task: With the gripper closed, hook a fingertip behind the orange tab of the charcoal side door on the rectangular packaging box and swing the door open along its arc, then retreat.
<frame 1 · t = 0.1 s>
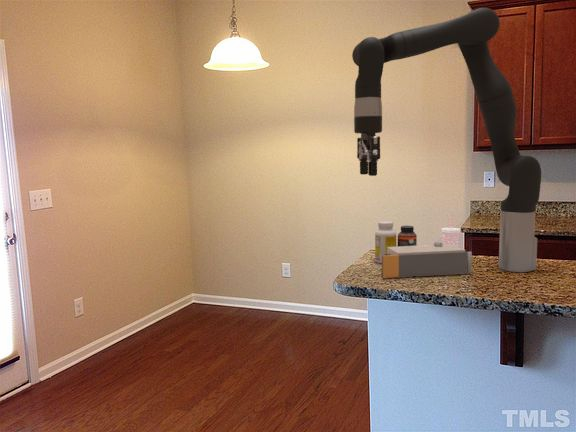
hand: (368, 175, 139), 29 cm above the table, fingers open, 8 cm apart
side door: (427, 264, 141), point 3 cm above the table, hinge at 0.0°
supplement bottle: (406, 261, 162), on the table
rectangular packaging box: (425, 271, 147), on the table
supplement bottle 2: (385, 262, 161), on the table
beverage cup: (450, 255, 169), on the table
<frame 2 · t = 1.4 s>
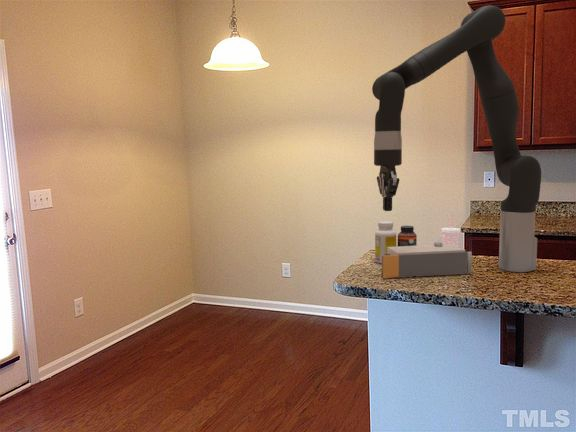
hand: (387, 210, 141), 19 cm above the table, fingers closed
nothing on the table moved.
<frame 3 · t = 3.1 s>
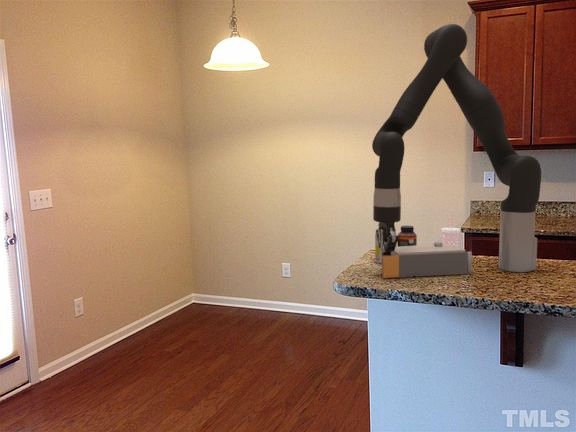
hand: (386, 264, 143), 3 cm above the table, fingers closed
side door: (427, 264, 141), point 3 cm above the table, hinge at 0.3°, touching gripper
everything else where it was.
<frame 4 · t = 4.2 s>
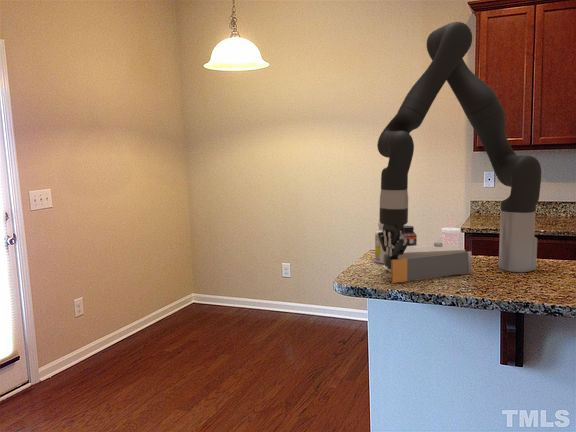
hand: (392, 268, 138), 3 cm above the table, fingers closed
side door: (432, 266, 139), point 3 cm above the table, hinge at 13.4°, touching gripper
everything else where it was.
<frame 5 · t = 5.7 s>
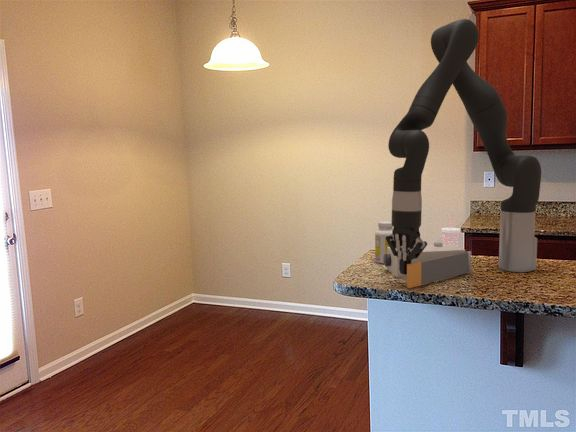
hand: (404, 273, 132), 3 cm above the table, fingers closed
side door: (440, 268, 136), point 4 cm above the table, hinge at 28.3°, touching gripper
everything else where it was.
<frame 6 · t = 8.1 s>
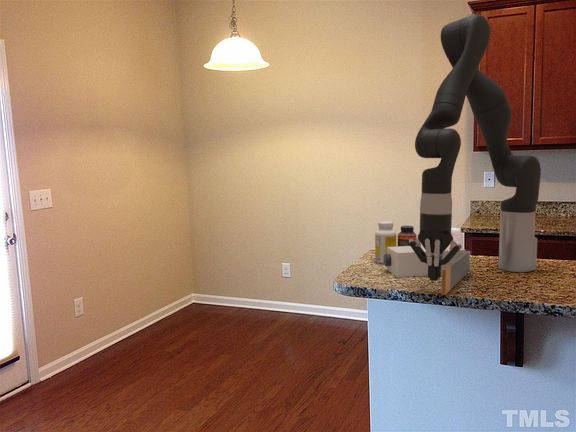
hand: (434, 279, 126), 3 cm above the table, fingers closed
side door: (457, 270, 133), point 4 cm above the table, hinge at 50.9°, touching gripper
everything else where it was.
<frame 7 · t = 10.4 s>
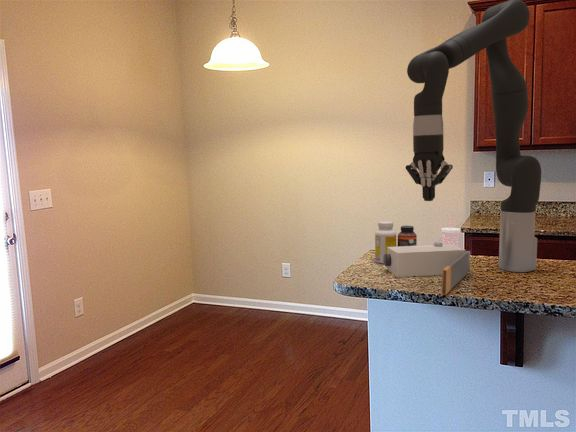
hand: (428, 200, 132), 22 cm above the table, fingers closed
side door: (457, 270, 133), point 3 cm above the table, hinge at 51.1°
everything else where it was.
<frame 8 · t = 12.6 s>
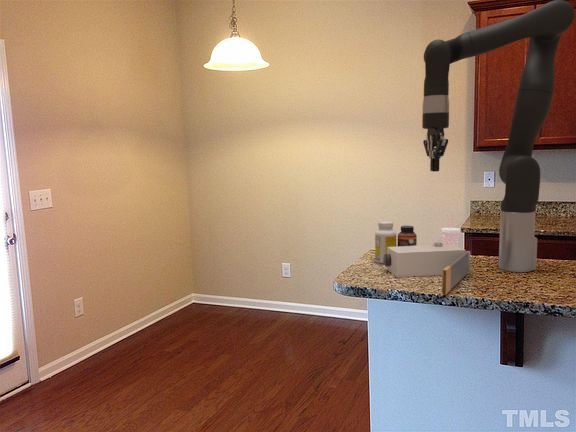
hand: (434, 171, 150), 29 cm above the table, fingers closed
nothing on the table moved.
at the end: side door at +51° (first picture: +0°); supplement bottle moved 0.2 cm from its start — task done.
